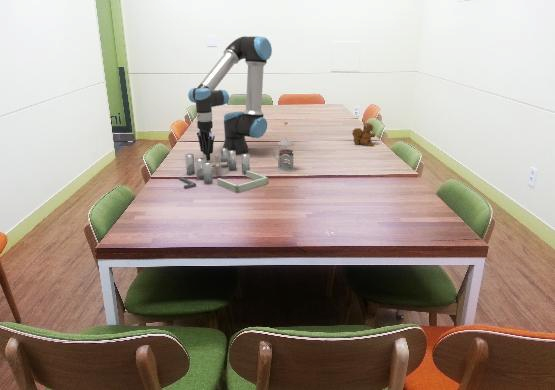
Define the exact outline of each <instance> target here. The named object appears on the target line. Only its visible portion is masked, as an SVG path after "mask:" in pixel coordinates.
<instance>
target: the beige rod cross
mask: <svg viewBox="0 0 555 390" xmlns="http://www.w3.org/2000/svg"><path fill="white" fill-rule="evenodd" d="M219 159H220V154H215V155H214V161H213V163H212V162H211V164H212V168H215V175H217V176H219V175H220V169H221V166H227V162H223V163H221V162H220V160H219Z"/></svg>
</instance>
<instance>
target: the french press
mask: <svg viewBox="0 0 555 390" xmlns="http://www.w3.org/2000/svg"><path fill="white" fill-rule="evenodd" d="M283 124H284V125H288V121H284V122H283ZM294 145H295V143H294V142H292V141H291V140H288V139H285V140H281V141H279V142H278V145H276V146H275V147H274V148H273V151H272V152H275V150H276V148H277V150H279V149H280V147H291V146H294ZM293 152H294V151H293V149H287V148H285V149H280V150H279V151H278V158H277V157H276V155H275V153H272V156H273V158H274V159H275V160H276V161H277V166H278V167H277V168H276V171H277V172H280V173H292V172H294V171H296V168H295V166H294V153H293Z"/></svg>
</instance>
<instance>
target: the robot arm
mask: <svg viewBox="0 0 555 390" xmlns="http://www.w3.org/2000/svg"><path fill="white" fill-rule="evenodd" d="M272 49H273V48H272V44H271V42H270V40H269V39H268V38H267V37H266V36H245V35H244V36H240V37H238V38H236V39H234V40H233V41H232V42H231V43H230V44H229V45H227V47H226V48H225V49H224V50H223V54H222V56H221V57H220V59H218V61H217V62H216V64H215V65H213V67H212V69H210V71H208V73H207V75H206V76H205V77H204V78H203V80H202V81H201V82H200V84H199V85H198V86H197V87H194V88H191V89H189V91H188V95H187V97H188V99H189V101H190V102H191V103H194V104H195V110H196V111H195V112H196V120H197V121H196V125H197V127H196V128H197V129H199V131H198V132H196V135H197V139H198V143H199V148H200V152H202V154H203V158H204V162H211V154H213V152H214V143H215V142H214V141H215V138H216V137H215V135H213V134H212V130H211V129H213V110H212V108H213V107H214V108H215V107H220V106H224V105H227V104H228V103H229V100H230V96H229V92H228V91H227V90H225V89H219V90H218V89H217V90H215V89H216V88H217V86H219V84H220V83H221V81H222V80H223V79H224V78H225V77H226V75H228V73H229V72H230V71H231V69H232V68H233V67H234V65H236V64H238V63H239V62H240V61H241V60H245V61H244V62H245V63H246V65H247V74H246V75H247V77H246V79H247V80H246V97H245V98H246V100H245V109H244V111H233V112H229V113H225V114H224V115H223V128H224V142H223V146H222V148H228V151H229V150H235V151H236V155H241V154H244V153H248V152H249V146H248V144H247V141H246V140H247V139H246V137H249V138H253V139H255V138H256V139H258V138H259V139H260V138H261V137H263V136H264V134H266V132H267V129H268V121H267V119H266V118H265V117H264V113H263V112H262V101H263V85H264V84H263V83H264V82H263V81H264V67H265V66H266V64H267V62H268V61H267V60H269V59H270V58H271V56H272V54H273V53H272V52H273V51H272Z"/></svg>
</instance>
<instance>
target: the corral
mask: <svg viewBox="0 0 555 390" xmlns="http://www.w3.org/2000/svg"><path fill="white" fill-rule="evenodd" d="M246 177H247V178H249V179H252V181H248V182H244V183H239V184H235V183H233V182H230V181H228V180H224V179H223V178H221V177H218V178H216V182H217V183H216V185H218V186H219V187H221V188H225V189H227V190H229V191H231V192H234V193H236V194H238V193H242V192H245V191H249V190H251V189H254V188H258V187H261V186H264V185H268V184H269V177H268V176H265V175H263V174H260V173H256V172H254V171H251V170H250V171H249V170H248V171H246Z"/></svg>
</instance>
